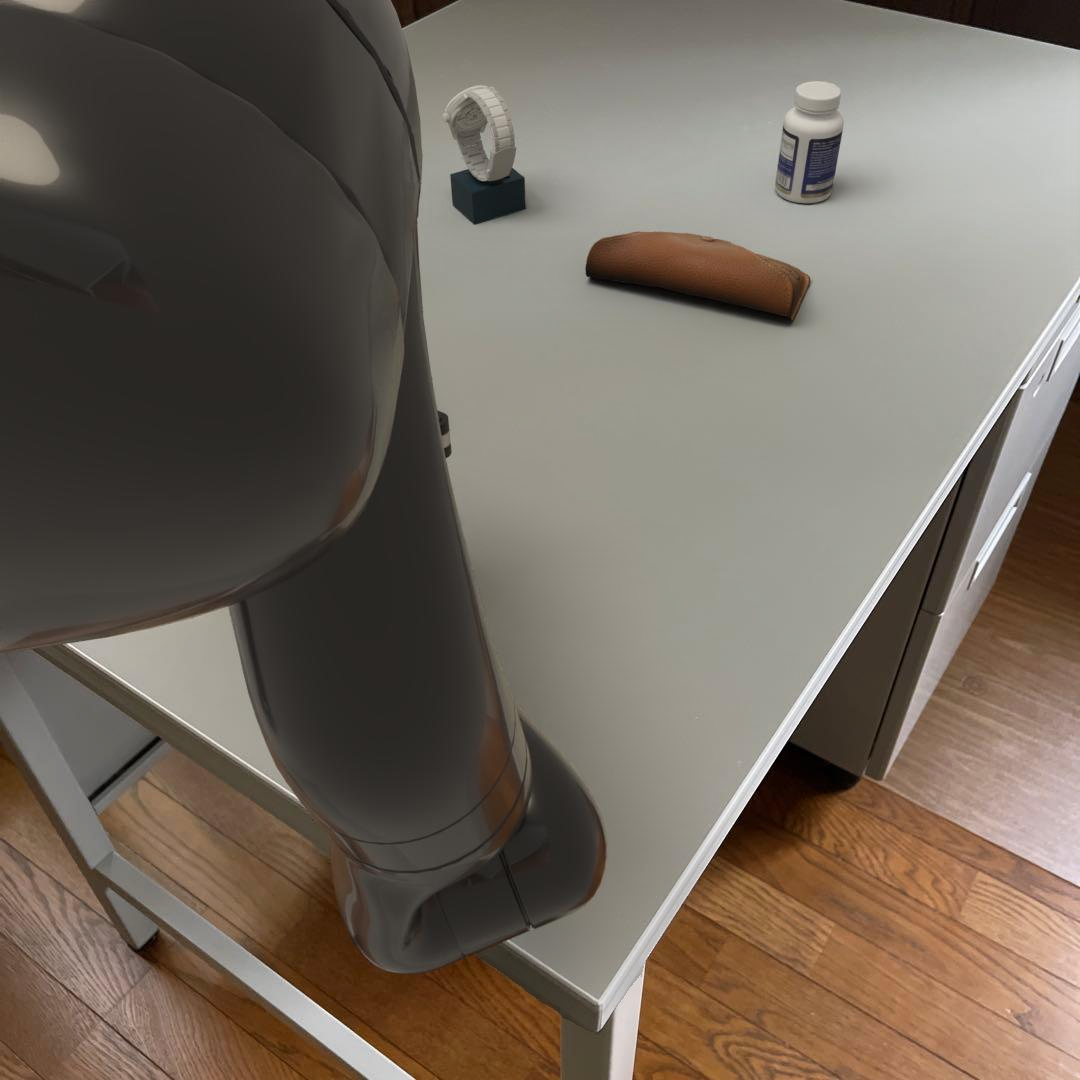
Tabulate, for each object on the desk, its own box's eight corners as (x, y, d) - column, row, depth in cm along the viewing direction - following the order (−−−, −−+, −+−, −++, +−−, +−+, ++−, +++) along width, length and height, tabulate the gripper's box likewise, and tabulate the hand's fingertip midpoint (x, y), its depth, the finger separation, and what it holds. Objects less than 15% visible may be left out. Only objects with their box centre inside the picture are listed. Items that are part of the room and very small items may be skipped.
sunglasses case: (815, 270, 94) (816, 228, 88) (792, 344, 93) (791, 306, 87) (617, 232, 100) (605, 190, 93) (592, 301, 98) (578, 263, 92)
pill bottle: (837, 184, 106) (856, 82, 99) (823, 209, 103) (841, 106, 96) (783, 174, 108) (797, 73, 101) (767, 198, 105) (781, 96, 98)
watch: (493, 181, 108) (487, 68, 100) (535, 216, 103) (532, 99, 95) (442, 196, 106) (432, 82, 98) (482, 232, 101) (474, 115, 93)
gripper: (500, 477, 53) (411, 291, 64) (221, 544, 50) (181, 337, 62) (507, 584, 58) (423, 394, 70) (254, 650, 55) (212, 440, 67)
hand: (310, 367), depth 66 cm, fingers closed
